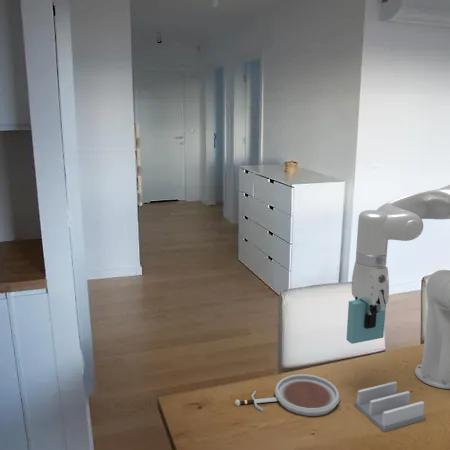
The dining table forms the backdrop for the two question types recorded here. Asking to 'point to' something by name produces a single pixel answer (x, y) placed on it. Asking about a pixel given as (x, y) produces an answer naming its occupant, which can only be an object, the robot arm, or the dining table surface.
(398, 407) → the dish rack
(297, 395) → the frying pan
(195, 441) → the dining table surface
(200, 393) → the dining table surface
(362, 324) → the teal upright slab
